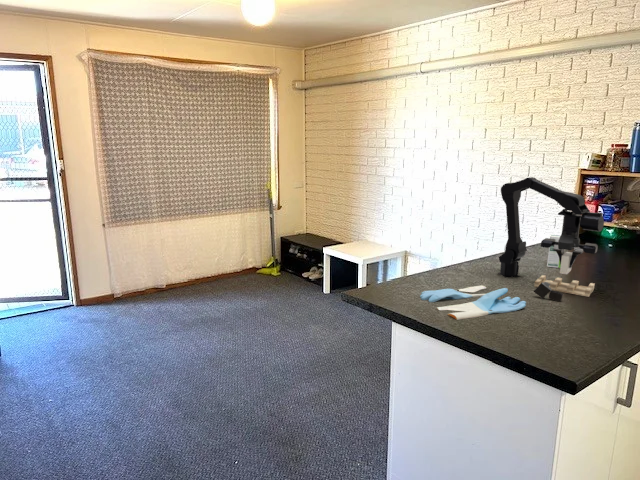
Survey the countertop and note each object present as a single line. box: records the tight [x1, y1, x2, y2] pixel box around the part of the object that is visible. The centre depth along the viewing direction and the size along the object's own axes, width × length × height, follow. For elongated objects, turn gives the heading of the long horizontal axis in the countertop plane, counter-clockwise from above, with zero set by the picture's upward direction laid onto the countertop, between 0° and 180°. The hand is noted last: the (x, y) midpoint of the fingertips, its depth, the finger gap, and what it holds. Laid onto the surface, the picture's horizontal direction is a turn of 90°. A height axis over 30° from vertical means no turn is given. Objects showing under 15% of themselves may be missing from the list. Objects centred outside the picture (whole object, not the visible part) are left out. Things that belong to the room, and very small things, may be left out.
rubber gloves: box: [419, 284, 527, 321], centre depth 165 cm, size 27×33×6 cm
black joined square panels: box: [533, 282, 564, 302], centre depth 168 cm, size 9×2×6 cm
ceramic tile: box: [559, 251, 573, 275], centre depth 179 cm, size 2×8×7 cm, turn 142°
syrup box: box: [546, 234, 561, 269], centre depth 213 cm, size 6×6×14 cm
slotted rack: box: [533, 274, 596, 298], centre depth 181 cm, size 12×19×2 cm, turn 52°
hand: (566, 267), depth 180 cm, fingers closed on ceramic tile, 2 cm apart
